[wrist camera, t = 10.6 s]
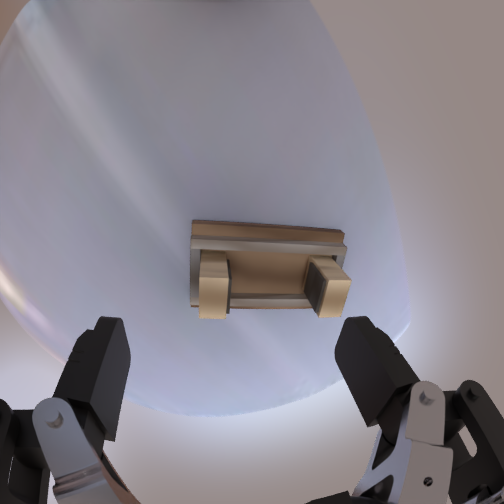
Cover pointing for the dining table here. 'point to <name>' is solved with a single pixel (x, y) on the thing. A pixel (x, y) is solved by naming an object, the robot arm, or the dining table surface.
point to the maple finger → (326, 286)
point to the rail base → (254, 265)
